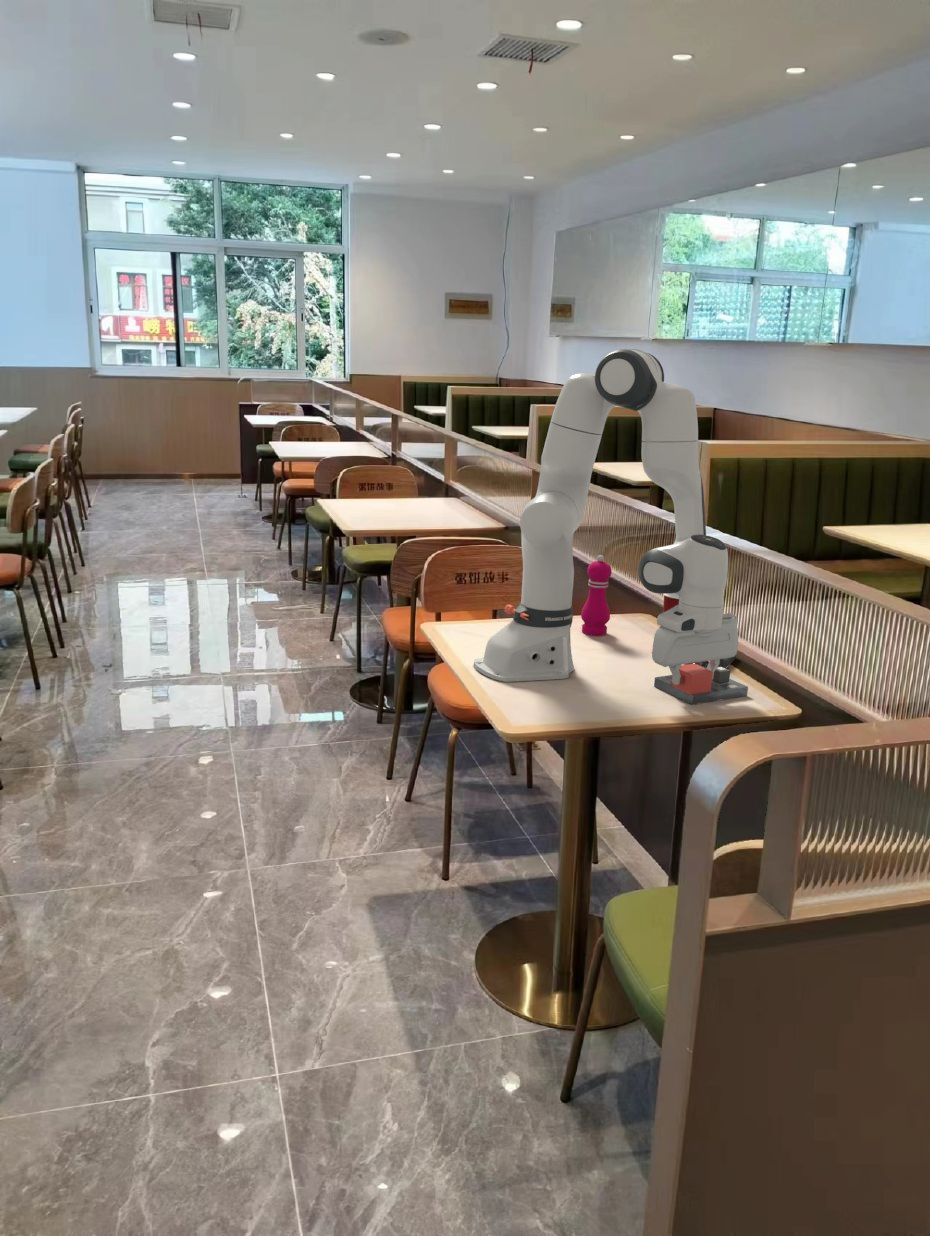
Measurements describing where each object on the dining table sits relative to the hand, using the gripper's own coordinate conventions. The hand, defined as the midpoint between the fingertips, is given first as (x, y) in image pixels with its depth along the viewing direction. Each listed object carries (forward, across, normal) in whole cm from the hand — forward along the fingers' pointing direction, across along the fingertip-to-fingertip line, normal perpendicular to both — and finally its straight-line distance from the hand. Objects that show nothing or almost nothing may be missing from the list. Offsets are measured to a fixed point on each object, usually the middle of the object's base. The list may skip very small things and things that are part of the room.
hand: (692, 681), depth 197 cm
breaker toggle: (+1, -9, -1) cm, 9 cm away
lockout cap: (+2, 0, 0) cm, 2 cm away
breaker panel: (+4, -5, -2) cm, 6 cm away
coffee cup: (+4, -20, -28) cm, 35 cm away
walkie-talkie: (+4, -20, -16) cm, 26 cm away
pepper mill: (+4, -10, -48) cm, 49 cm away
